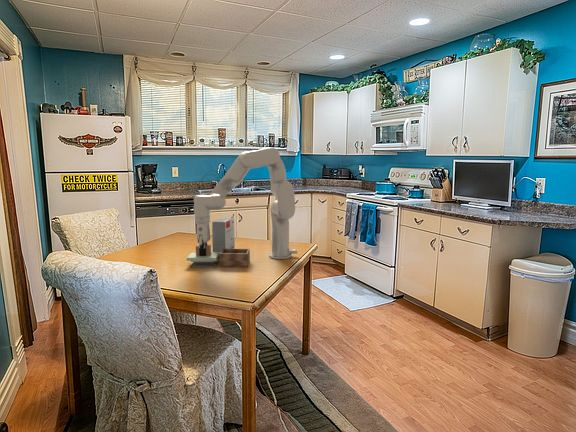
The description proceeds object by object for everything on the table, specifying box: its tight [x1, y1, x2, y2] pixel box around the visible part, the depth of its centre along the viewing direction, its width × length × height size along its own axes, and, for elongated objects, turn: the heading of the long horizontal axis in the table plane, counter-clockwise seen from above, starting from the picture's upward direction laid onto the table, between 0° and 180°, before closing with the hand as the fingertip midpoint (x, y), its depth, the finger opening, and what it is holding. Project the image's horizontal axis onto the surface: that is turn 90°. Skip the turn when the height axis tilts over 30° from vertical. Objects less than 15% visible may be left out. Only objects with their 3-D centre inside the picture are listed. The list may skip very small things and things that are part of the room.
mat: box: [189, 260, 218, 268], centre depth 188 cm, size 12×10×1 cm
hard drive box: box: [211, 217, 236, 258], centre depth 206 cm, size 16×8×20 cm, turn 168°
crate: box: [219, 248, 251, 268], centre depth 188 cm, size 14×10×7 cm
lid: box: [186, 244, 220, 263], centre depth 187 cm, size 15×11×8 cm
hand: (203, 254), depth 187 cm, fingers closed on lid, 3 cm apart
